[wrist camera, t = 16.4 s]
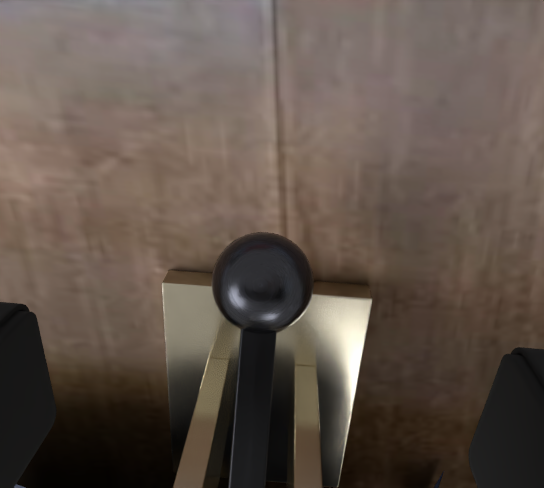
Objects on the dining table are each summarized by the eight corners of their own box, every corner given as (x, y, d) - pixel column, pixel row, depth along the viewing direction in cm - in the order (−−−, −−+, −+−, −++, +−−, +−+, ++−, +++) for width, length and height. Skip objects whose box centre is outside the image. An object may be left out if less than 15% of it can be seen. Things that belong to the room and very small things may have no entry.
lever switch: (222, 232, 16) (208, 223, 13) (313, 238, 16) (321, 232, 13) (192, 613, 15) (168, 706, 12) (286, 622, 15) (287, 718, 12)
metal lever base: (168, 269, 20) (22, 538, 9) (369, 284, 20) (449, 577, 9) (178, 454, 25) (90, 762, 15) (337, 468, 25) (364, 790, 14)
